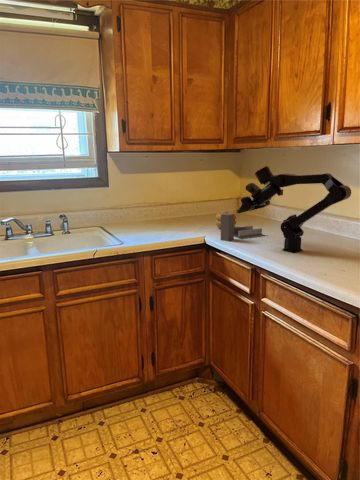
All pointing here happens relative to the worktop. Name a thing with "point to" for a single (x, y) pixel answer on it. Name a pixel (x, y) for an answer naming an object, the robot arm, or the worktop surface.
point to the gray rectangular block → (227, 227)
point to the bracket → (247, 232)
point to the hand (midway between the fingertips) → (243, 211)
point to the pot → (218, 217)
